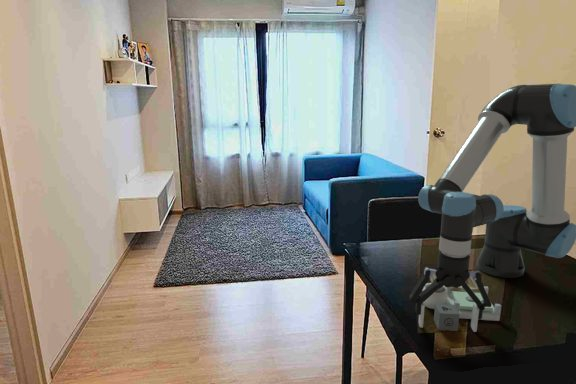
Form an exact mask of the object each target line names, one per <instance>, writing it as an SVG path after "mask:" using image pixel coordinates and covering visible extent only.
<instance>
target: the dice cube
mask: <svg viewBox="0 0 576 384" xmlns="http://www.w3.org/2000/svg"><path fill="white" fill-rule="evenodd" d="M459 320H460V318H459V313H458V311H457V309H456V307H455V306H454V305H448V304H435V309H434V314H433V321H435V322H434V324H435V326H436V328H437V330H438V331H446V330H450V331H451V332H453V331H454V332H458V330H459V322H460V321H459ZM450 331H449V332H450Z"/></svg>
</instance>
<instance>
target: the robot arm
mask: <svg viewBox="0 0 576 384" xmlns="http://www.w3.org/2000/svg"><path fill="white" fill-rule="evenodd" d="M477 120H478V122H477V123H476V124H475V126H474V128H473V129H472V131H470V133H469V134H468V136H467V138H466V140H465V141H464V142H463V144H462V145H461V146H460V148H459V150H458V151H457V152H456V154H455V155H454V157H453V158H452V160H451V161H450V162H449V164H448V166H447V167H445V169H444V171H443V173H442V174H441V176H440V177H439V178H438V179H437V181H436V182H435V183H434V185H433V184H426V185H425V186H423V187H421V189H420V191H419V193H418V198H417V201H418V205H419V206H420V207H421V209H424V210H426V211H429V212H431V213H436V214H439V215H440V214H441V223H440V224H441V225H440V232H439V233H440V235H439V244H438V250H439V251H438V256H437V266H436V268H434V269H433V268H429V267H428V266H425V267H424V268H423V273H422V275H421V277H420V278H419V279H418V281H417V283H416V284H415V285H414V287H413V289H412V291H410V293H409V299H410V302H413V303H415V313H416V315H417V316H418V326H419V328H421V329H422V328H424V318H425V317H424V316H425V308H426V306H425V305H424V301H425V300H426V299H428V298H429V297H430V296H431V295H432V294H433V293H434V292H435V291H437V290H438V289H440V288H441V287H442V286H445V287H454V288H458V287H460V286H462V287H463V289H464V290H465V291H466V292H467V293H468V295H469V296H470V297H471V298H472V299H473V301H474V302H475V303H476V304H477V305H476V304H473V310H472V319H470V328H471V330H472V331H473V332H474V333H476V332H477V330H478V322H479V319H481V318H482V313H483V310H484V309H485V307H491V306H492V305H493V304H492V305H491V303H492V302H491V301H490V297H489V294H488V295H487V293H486V291H485V288H484V286H485V285H484V284H483V282H482V273H485V274H487V275H490V276H494V277H498V278H504V279H505V278H506V279H515V278H520V277H523V276H524V274H525V262H524V260H523V256H522V255H523V254H522V249H524V250H527V251H532V252H535V253H537V254H541V255H545V256H546V257H551V258H556V259H561V258H564V257H565V256H567V255H568V253H570V251H571V249H572V248H573V247H574V245H575V242H576V224H575V223H574V222H571V221H570V220H571V216H570V213H569V212H568V211H566V210H565V200H566V199H565V198H566V179H567V178H566V177H567V157H568V156H567V155H568V137H569V136H570V135H571V134H573V133H574V132H575V128H576V85H574V84H564V83H540V84H518V85H515V86H511V87H510V88H509V87H508V88H507V89H505V90H503V91H502V92H500V93H499V94H498V95H496V96H494V98H493V99H491V100H490V101H489V102H488V103H487V104H486V105H485V106H484V107H483V109H482V110H481V112H480V113H479V114H478V117H477ZM515 125H526V133H527V135H529V136H530V138H532V165H531V166H532V168H531V170H532V175H531V176H532V177H531V178H532V184H531V186H532V187H531V188H532V189H531V209H529V210H527V208H526V207H524V206H521V205H511V204H510V205H508V204H507V205H505V204H503V202H502V200H501V199H500V198H499V196H497V195H494V194H492V193H491V194H481V195H479V194H474V193H470V192H465V189H466V187H467V186H468V184H469V183H470V181H471V180H472V178H473V177H474V175H475V174H476V172H477V171H478V170H479V168H480V167H481V166H482V164H483V162H484V160H485V159H486V157H488V155H489V154H490V152H491V151H492V149H493V147H494V146H495V144H496V143H497V141H498V140H499V138H500V137H501V136H502V134H506V133H507V132H509V130H510V129H511V127H513V126H515ZM481 226H485V235H484V244H483V247H482V249H481V251H480V253H479V255H478V257H477V259H476V268H477V269H474V270H472V271H469V268H470V261H471V260H470V257H471V256H470V254H471V250H472V239H473V230H474V228H476V227H481ZM481 272H482V273H481ZM434 274H435V275H436V276H437V278H436V279H435V280H434V281H433V282H432V283H431V282H430V283H431V284H430V285H429V286H428V287H427V288H426V289H425V290H424V291H423V288H424V287H425V285H426V284H427V283H429V281H430V278H431V277H432V276H433V275H434ZM469 277H472V279H473V280H474V281H475V283H476V285H477V287H478V289H479V293H480V294H481V296H482V298H483V300H482V301H480V300H479V298H478V297H477V296H476V295H475V293H474V292H473V291H472V290H471V289H470V287H469V286H468V285H467V284H466V282H465V281H466V280H467V279H468V278H469Z"/></svg>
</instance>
